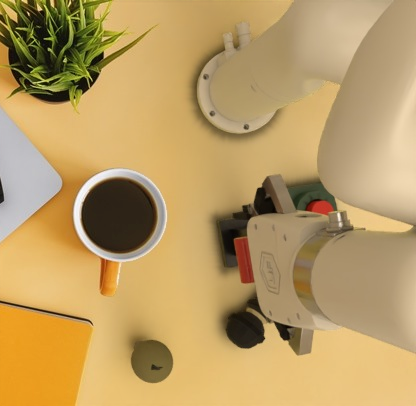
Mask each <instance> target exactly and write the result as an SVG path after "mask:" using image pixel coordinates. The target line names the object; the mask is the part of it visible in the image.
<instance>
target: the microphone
mask: <svg viewBox="0 0 416 406" xmlns="http://www.w3.org/2000/svg"><path fill="white" fill-rule="evenodd" d="M255 298H258V297H257V296H256V297H255ZM227 319H228V322H227V323H226V327H225V333H226V336H227V338H228V340H229V341H230V342H231V343H233V344H234V345H235V346H236V347H238V348H240V349H245V350H249V349H253V348H254V347H256V346H257V345H261V344H263V343H264V341H265V340H266V337H265V333H266V332H265V331H266V329H265V326H264V325H266V324H269V323H268V321H267V319H266V316H265V315H262V314H260V312H259V311H257V310H255V309H252V308H250V307H248V306H247V307H246V311H244V310H243V311H239V312H237V313H236V312H233V313H231V314H230V315H229V316H228V318H227Z"/></svg>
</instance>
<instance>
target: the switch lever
mask: <svg viewBox="0 0 416 406" xmlns="http://www.w3.org/2000/svg"><path fill="white" fill-rule="evenodd" d="M234 244H235V250H236V255H237V261H238V266H237V267H238V272H239V278H240V283H241V284H253V283H254V284H255V281H254V275H253V269H252V263H251V257H250V251H249V244H248V237H239V238H235V239H234Z"/></svg>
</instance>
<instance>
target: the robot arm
mask: <svg viewBox="0 0 416 406" xmlns="http://www.w3.org/2000/svg"><path fill="white" fill-rule="evenodd" d="M292 1H293V2H291V4H290V6H289V7H288V8H287V9H286V11H285V12H284V14H282V16H281V17H280V18H279V19H278V20H276V21H275V22H274V23H273V24H272V25H270V26H269V27H268V28H267V29H266V30H264V31H263V32H262V33H261V34H259V35H258V36H257V37H255V38H254V39H252V36H251V35H252V32H251V27H250V26H251V25H250V22H249V21H242V22H239V23H237V24H235V32H236V38H237V39H238V46H237V47H236V48H235V46H234V37H233V33H232V32H226V33H223V34H222V36H221V37H222V43H223V46H224V50H223V51H221V52H219V53H218V54H216V55H215V56H213V57H212V58H211V59H210V60H209V61H208V62H206V64H205V65H204V67H203V68H202V69H201V71H200V73H199V76H198V79H197V83H196V97H197V98H196V99H197V103H198V106H199V108H200V111H201V112H202V114H203V116H204V117H205V118H206V119H207V121H208V122H209V123H210V124H212V125H213V126H214V127H216V129H219V130H221V131H222V132H225V133H229V134H238V135H240V134H247V133H250V132H254V131H256V130H258V129H261V128H262V127H264V126H265V125H266V124H268V123H269V122H270V120H271V119H272V118H273V117H274V115H275V114H276V112H277V110H280V109H282V108H285V107H287V106H290V105H293V104H294V103H297V102H300V101H302V100H304V99H305V98H308V97H310V96H312V95H314V94H316V93H317V92H318V91H320V90H321V89H322V88H323V87H324V86H325V85H326V83H327V82H328V83H332V84H335V85H339V88H338V91H337V93H336V95H335V97H334V100H333V103H332V105H331V107H330V109H329V113H328V114H327V117H326V120H325V123H324V126H323V130H322V133H321V135H320V138H319V143H318V146H317V155H316V170H317V175H318V178H319V180H320V183H321V182H322V184H323V186H324V187H325V189H326V190H327V191H328V192H329V193H330V194H331V195H333V196H334V197H335V199H336V200H338V201H339V202H342V203H343V204H345V205H348V206H350V207H353V208H356V209H359V210H362V211H364V212H368V213H371V214H374V215H377V216H380V217H383V218H387V219H390V220H393V221H396V222H400V223H403V224H406V225H409V226H412V227H410V229H408V230H406V231H389V230H388V231H387V230H386V231H385V230H371V229H367V228H366V227H360V226H359V227H358V226H354V224H353V223H351V220H350V219H348V213H347V210H345V209H344V210H343V209H342V210H338V211H334V212H329V213H328V216H327V215H323V214H319V213H314V212H309V211H300V210H296V208H295V206H294V204H293V201H292V199H291V197H290V194H289V192H288V190H287V188H288V187H287V185H286V182H285V179H284V178H283V175H282V174H280V173H277V174H272V175H267V176H266V177H265V178H264V180H263V181H262V183H261V186H258V187H257V188H256V191H255V196H254V199H253V202H251V203H247V204H243V205H241V208H242V209H241V210H242V211H238V212H237V211H236V212H232V218H235V220H249V222H248V225H247V237H248V244H249V251H250V257H251V263H252V269H253V275H254V281H255V282H254V286H255V292H256V297H258V298H256V297H255V298H250V299H248V300H247V307H250V308H252V309H255V310H257V311H259V312H260V314H262V315H265V316H266V319H267V321H268V323H267V324H269V325H270V324H274V326H275V328H276V330H277V331H278V332H277V333H278V334H279V337H280V338H281V339H282V341H284V342H286V341H287V343H288V346H289V347H290V348H291V350H292V351H293V352H294V353H295V355H296V356H298V357H299V356H303V355H309V354H312V349H313V348H312V347H313V340H314V339H313V338H314V332H315V331H323V332H324V331H325V332H326V331H327V332H330V331H331V332H332V331H337V330H340V329H343V328H344V329H347V330H350V331H353V332H355V333H358V334H360V335H363V336H367V337H369V338H371V339H375V340H377V341H379V342H383V343H385V344H387V345H391V346H393V347H395V348H398V349H401V350H404V351H406V352H409V353H412V354H415V355H416V0H292Z"/></svg>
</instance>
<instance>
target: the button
mask: <svg viewBox="0 0 416 406" xmlns="http://www.w3.org/2000/svg"><path fill="white" fill-rule="evenodd" d="M306 211H309V212H314V213H319V214H323V215H327V216H328V213H329V212H334V211H333V207H332V206H331V204H330V203H328V202H327V201H313V202H311V203H310V204H309V205H308V206H307V208H306Z"/></svg>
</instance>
